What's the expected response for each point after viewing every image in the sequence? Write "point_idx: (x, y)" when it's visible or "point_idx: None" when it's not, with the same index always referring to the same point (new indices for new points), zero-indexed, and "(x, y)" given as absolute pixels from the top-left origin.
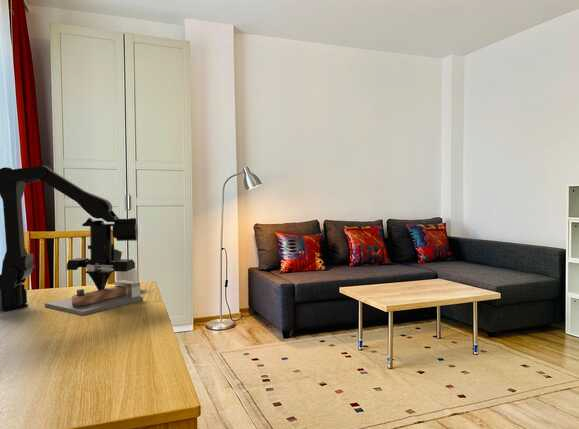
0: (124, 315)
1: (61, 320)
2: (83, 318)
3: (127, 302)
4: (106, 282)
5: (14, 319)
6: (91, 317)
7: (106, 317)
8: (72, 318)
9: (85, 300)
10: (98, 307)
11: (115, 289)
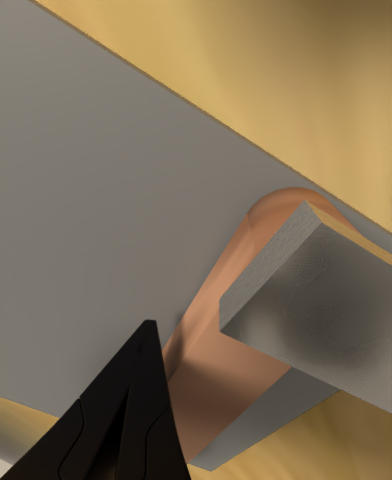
0: (373, 470)
1: None
2: (232, 472)
3: None
4: (171, 405)
5: (13, 454)
6: (255, 469)
7: (310, 475)
8: (195, 468)
9: None
10: (249, 445)
11: (279, 368)
